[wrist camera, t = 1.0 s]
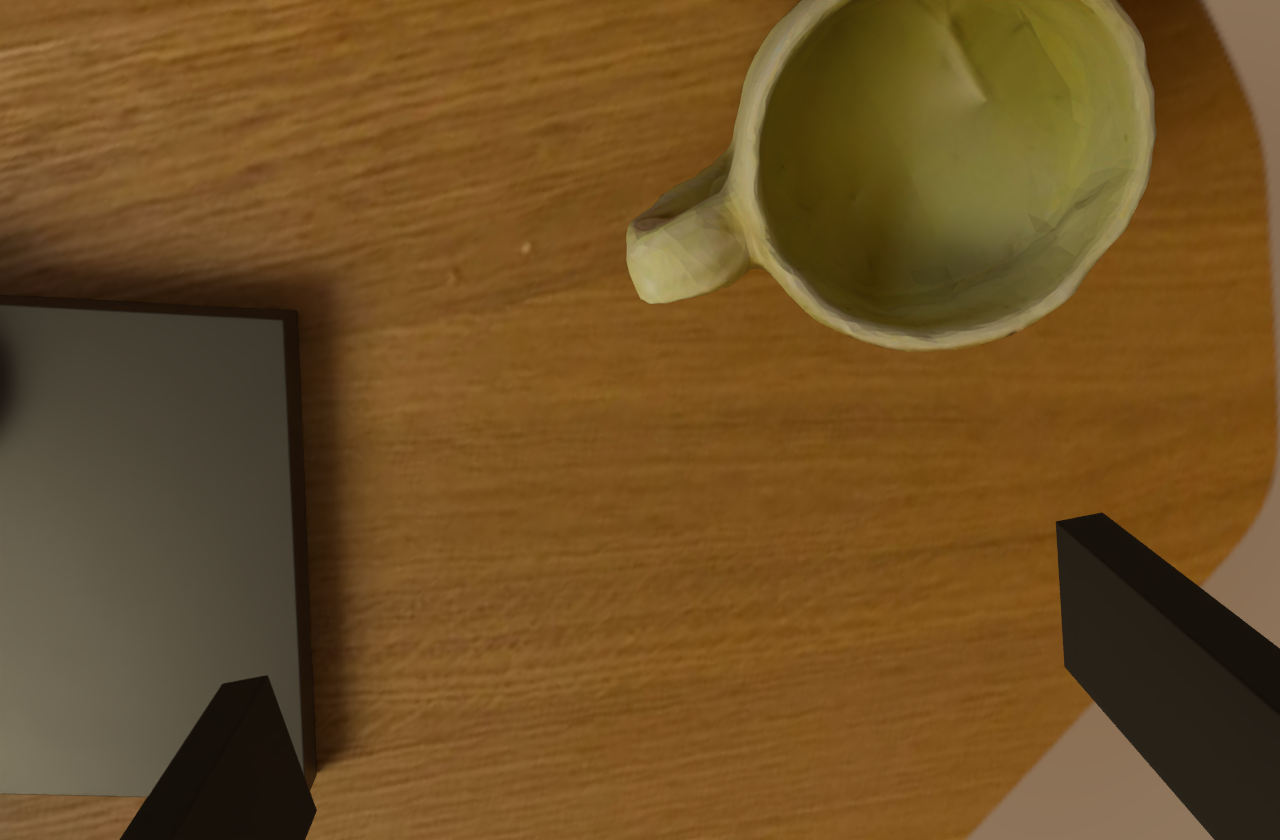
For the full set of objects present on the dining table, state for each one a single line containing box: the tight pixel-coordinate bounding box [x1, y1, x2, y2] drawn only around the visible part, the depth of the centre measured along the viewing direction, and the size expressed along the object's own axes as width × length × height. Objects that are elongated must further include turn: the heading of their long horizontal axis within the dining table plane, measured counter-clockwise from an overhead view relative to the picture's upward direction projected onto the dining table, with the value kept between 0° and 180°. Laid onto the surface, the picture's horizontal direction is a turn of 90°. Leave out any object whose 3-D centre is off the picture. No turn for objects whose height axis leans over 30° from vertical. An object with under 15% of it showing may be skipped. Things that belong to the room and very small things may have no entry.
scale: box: [0, 295, 317, 797], centre depth 30 cm, size 17×15×3 cm
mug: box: [626, 0, 1156, 353], centre depth 25 cm, size 12×10×10 cm
